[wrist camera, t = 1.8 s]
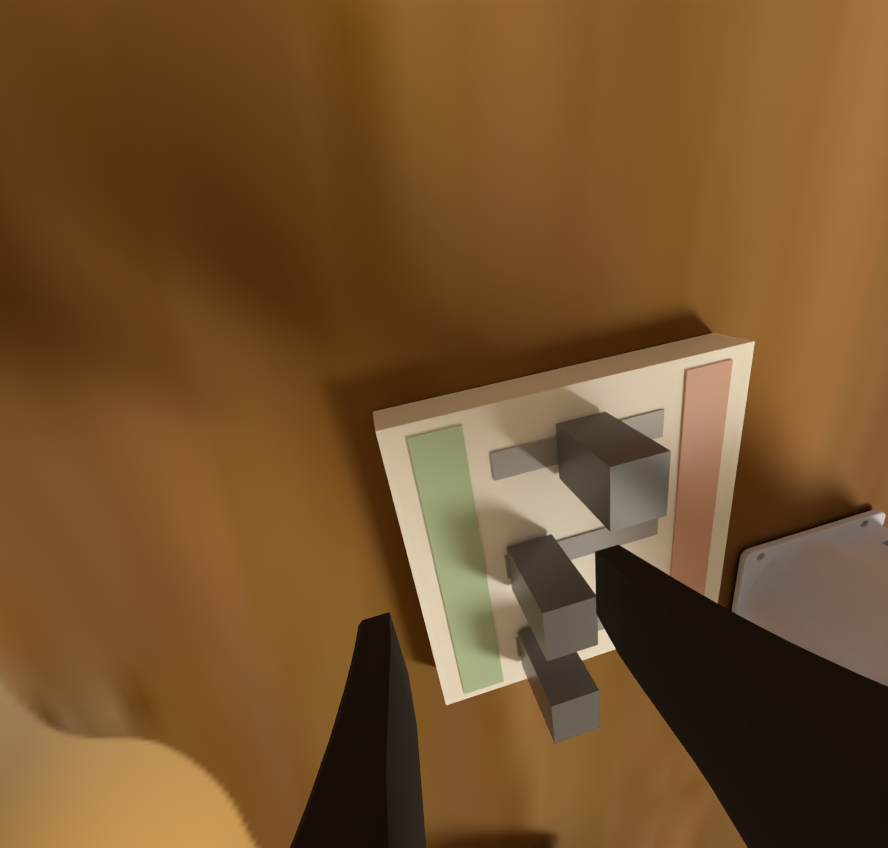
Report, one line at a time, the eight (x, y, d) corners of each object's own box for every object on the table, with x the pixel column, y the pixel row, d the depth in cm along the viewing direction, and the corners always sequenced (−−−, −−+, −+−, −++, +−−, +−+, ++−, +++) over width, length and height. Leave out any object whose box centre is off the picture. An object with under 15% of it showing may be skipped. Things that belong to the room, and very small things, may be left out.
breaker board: (713, 332, 18) (756, 341, 16) (688, 588, 24) (717, 617, 22) (372, 411, 16) (375, 432, 14) (438, 668, 22) (446, 707, 20)
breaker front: (605, 411, 16) (670, 450, 12) (605, 466, 16) (666, 515, 13) (556, 423, 15) (610, 467, 12) (559, 478, 16) (610, 532, 13)
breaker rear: (557, 618, 19) (598, 690, 16) (560, 653, 20) (599, 727, 17) (517, 631, 19) (551, 706, 16) (522, 666, 20) (554, 743, 17)
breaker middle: (551, 534, 17) (597, 596, 14) (554, 577, 18) (597, 644, 15) (506, 547, 17) (542, 613, 14) (512, 589, 18) (546, 661, 15)
